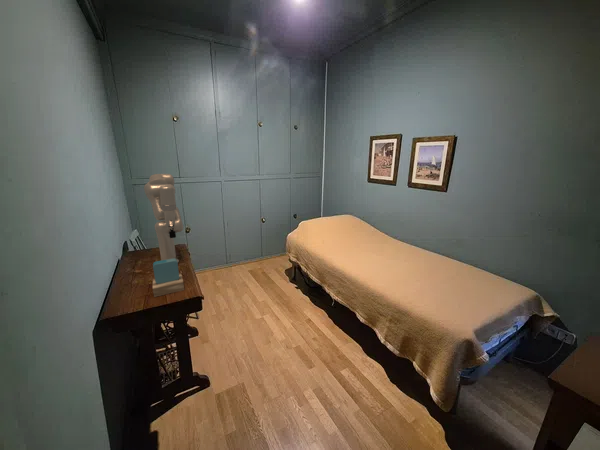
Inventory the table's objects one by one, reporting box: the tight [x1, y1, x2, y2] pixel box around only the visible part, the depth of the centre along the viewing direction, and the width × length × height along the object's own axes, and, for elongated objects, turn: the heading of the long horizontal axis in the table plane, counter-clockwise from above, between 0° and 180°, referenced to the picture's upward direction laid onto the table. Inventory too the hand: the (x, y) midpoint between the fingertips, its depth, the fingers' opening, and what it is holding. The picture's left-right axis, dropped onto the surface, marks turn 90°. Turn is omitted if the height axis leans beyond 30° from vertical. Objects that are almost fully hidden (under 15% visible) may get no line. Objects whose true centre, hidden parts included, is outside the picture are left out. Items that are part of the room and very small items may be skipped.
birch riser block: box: [152, 272, 185, 298], centre depth 137 cm, size 13×15×5 cm
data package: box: [152, 258, 180, 284], centre depth 135 cm, size 12×4×12 cm, turn 121°
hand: (172, 235), depth 142 cm, fingers open, 9 cm apart
